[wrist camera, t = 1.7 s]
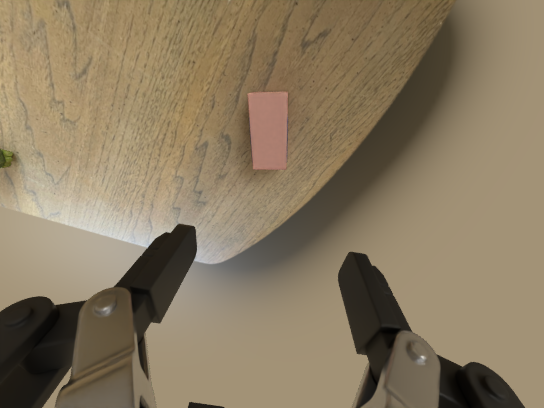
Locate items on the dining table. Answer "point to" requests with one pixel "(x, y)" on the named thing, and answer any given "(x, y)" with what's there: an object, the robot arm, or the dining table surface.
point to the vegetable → (5, 158)
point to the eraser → (268, 129)
